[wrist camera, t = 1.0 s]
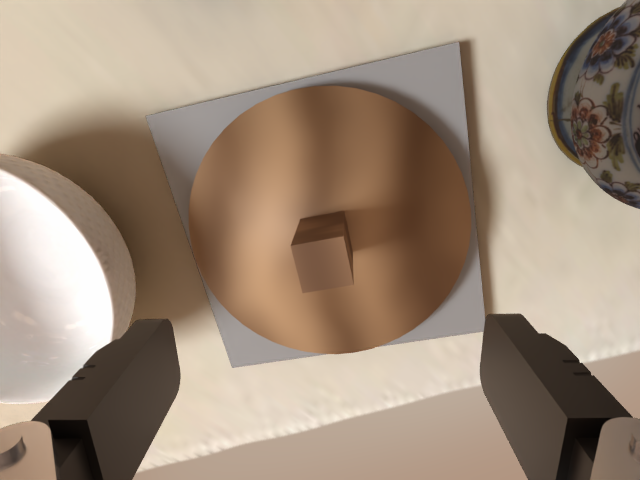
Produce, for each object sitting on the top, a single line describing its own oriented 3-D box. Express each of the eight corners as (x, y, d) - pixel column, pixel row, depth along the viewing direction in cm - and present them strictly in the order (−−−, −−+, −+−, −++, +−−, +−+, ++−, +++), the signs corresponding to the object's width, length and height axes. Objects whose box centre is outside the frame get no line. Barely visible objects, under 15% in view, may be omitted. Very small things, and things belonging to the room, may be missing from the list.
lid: (451, 52, 24) (481, 42, 19) (478, 326, 31) (508, 380, 25) (155, 122, 27) (104, 131, 21) (236, 361, 33) (213, 417, 28)
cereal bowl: (173, 351, 34) (131, 414, 28) (-19, 340, 35) (-104, 399, 28) (147, 143, 28) (86, 160, 22) (-83, 136, 29) (-209, 150, 23)
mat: (455, 43, 25) (459, 41, 24) (482, 325, 32) (486, 331, 31) (150, 115, 28) (145, 116, 27) (234, 361, 34) (232, 367, 33)
